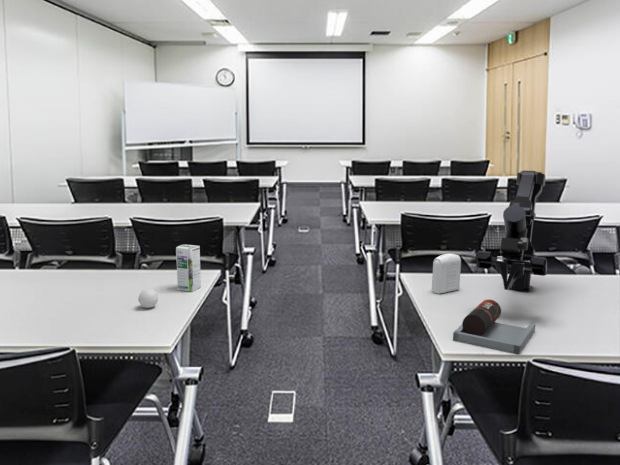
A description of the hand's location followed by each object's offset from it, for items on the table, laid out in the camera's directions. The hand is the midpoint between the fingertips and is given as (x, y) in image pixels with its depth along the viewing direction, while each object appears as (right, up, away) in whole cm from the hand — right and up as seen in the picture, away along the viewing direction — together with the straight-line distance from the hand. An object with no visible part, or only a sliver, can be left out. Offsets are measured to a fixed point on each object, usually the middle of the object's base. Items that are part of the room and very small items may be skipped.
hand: (505, 289), depth 152 cm
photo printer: (-9, -4, +29) cm, 31 cm away
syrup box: (-94, -3, +31) cm, 99 cm away
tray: (-6, -11, -9) cm, 16 cm away
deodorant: (-4, -6, +1) cm, 7 cm away
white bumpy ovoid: (-103, -7, +13) cm, 104 cm away
